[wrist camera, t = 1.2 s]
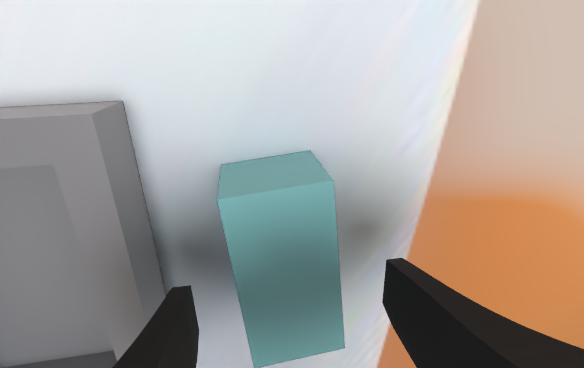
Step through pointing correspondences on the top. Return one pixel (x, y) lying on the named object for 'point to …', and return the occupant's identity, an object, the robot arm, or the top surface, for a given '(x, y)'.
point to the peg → (283, 255)
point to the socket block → (72, 238)
